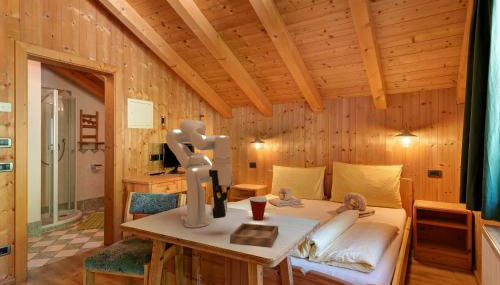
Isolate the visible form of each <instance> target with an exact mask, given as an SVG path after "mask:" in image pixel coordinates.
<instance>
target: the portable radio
mask: <svg viewBox="0 0 500 285" xmlns="http://www.w3.org/2000/svg"><path fill="white" fill-rule="evenodd" d="M209 176H210V177H212V186H213V187H212V198H214V208H213V215H212V218H213V219H221V218H225V217H226V216H227V214H226V213H227V212H225V206H224V201H223V189H222V188H223V186H219V185H218V170H211V169H210V170H209Z"/></svg>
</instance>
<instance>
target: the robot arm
mask: <svg viewBox="0 0 500 285" xmlns="http://www.w3.org/2000/svg"><path fill="white" fill-rule="evenodd" d="M165 139H166V140H165V141H166V144H167V146H168V148H169V150H170V151H172V153H173V154H174V156H175V157H176V159H177V160H178V162H179V164H180V165H181V167H182V169H184V170H185V173H184V175H185V176H184V177H185V181H186V194H187V195H186V200H187V202H186V203H187V206H186V207H187V208H186V209H187V215H181V217H180V218H181V221H185V222H184V226H185V228H190V229H192V228H193V229H197V228H204V227H206V226H208V225H209V221H208V219H206V190H205V188H204V186H203V184H204V183H209V187H210V188H213V186H212V177H210V176H209V170H210V169H211V170H218V185H219V186H222V187H223V191H222V193H223V201H225V200H227V201H228V192H229V191H230V190H231V189H233V188H235V186H236V185H235V183H234V174H233V173H234V172H233V168H232V167H233V166H232V163H231V138H230V136H229V135H221V134H220V135H216V134H215V135H213V134H206V125H205V122H203V121H202V120H200V119H199V120H197V119H185V120H183V121H181V122H180V124H179V128H171V129H168V131H167V132H166V135H165ZM186 143H188V144H191V146H192V147H193V148H195V149H196V150H199V151H213V154H214V155H213V158H211V160H210V158H209V157H208V155H207V154H205V153H202V152H192V151H191V149H190V148H189V147H188V146H187V145H186Z"/></svg>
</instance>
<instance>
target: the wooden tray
mask: <svg viewBox="0 0 500 285" xmlns="http://www.w3.org/2000/svg"><path fill="white" fill-rule="evenodd" d="M278 234H279V225H271V224H270V225H268V224H257V223H245V222H244V223H243V222H242V223H241V224H240V225H239V226H238V227H237V228H236V229H234V231H233V232H231V233H230V234H229V242H230V243H229V244H234V245H244V246H252V247H253V246H255V247H266V248H272V246H273V245H274V242H275V240H276V239H277V237H278Z"/></svg>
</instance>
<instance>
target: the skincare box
mask: <svg viewBox="0 0 500 285" xmlns="http://www.w3.org/2000/svg"><path fill="white" fill-rule="evenodd" d="M210 199H211V202H210V207H211V208H210V215H211V216H213V208H214V198H213V197H211V198H210ZM224 206H225V212H226V213H228V199H227V200H225V201H224Z"/></svg>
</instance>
